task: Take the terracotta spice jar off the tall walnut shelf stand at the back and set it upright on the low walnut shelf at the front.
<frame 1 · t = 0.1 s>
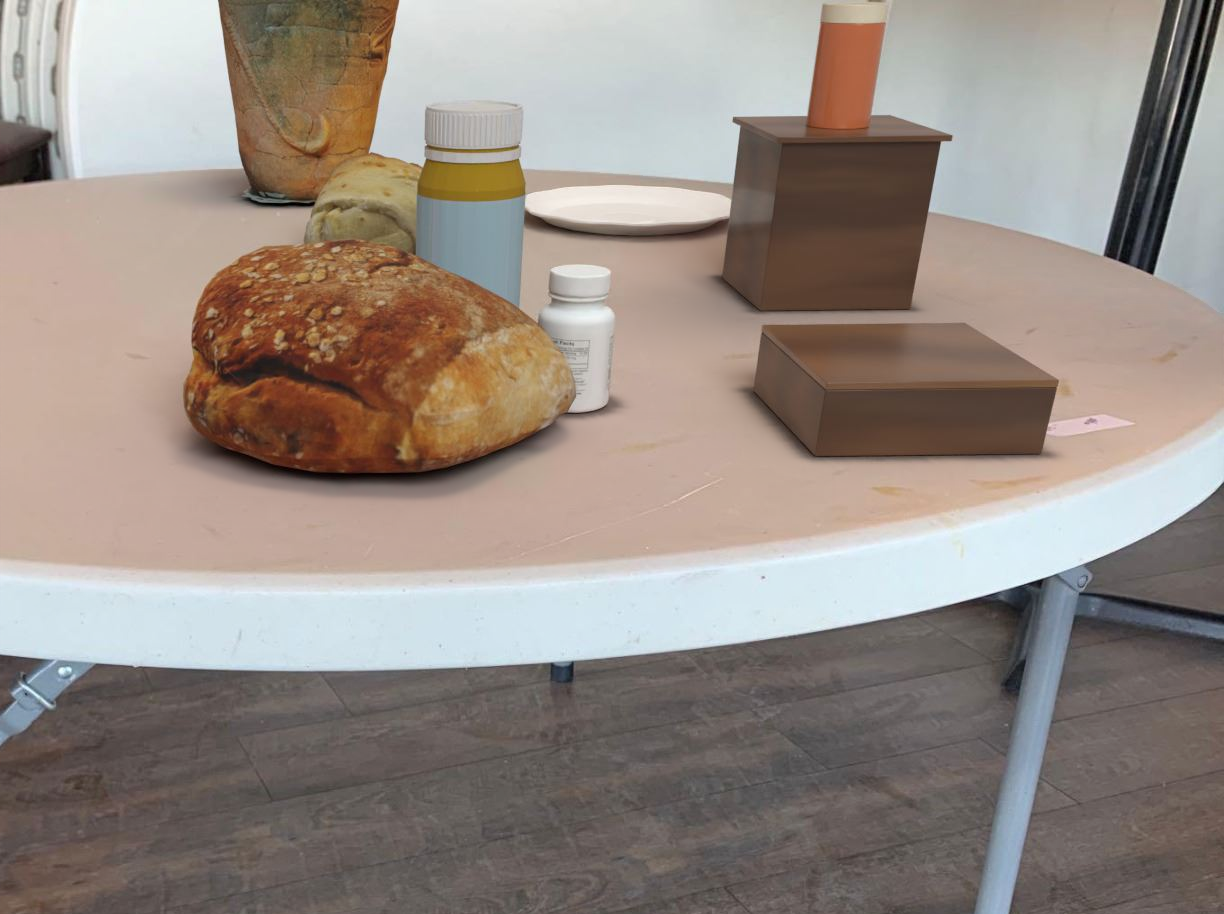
pill bottle: (570, 406, 83), on the table
low shelf: (887, 420, 79), on the table
bottle: (465, 345, 95), on the table
pastry: (372, 255, 122), on the table
high shelf: (811, 292, 107), on the table
vase: (318, 198, 149), on the table
plate: (627, 222, 134), on the table
spice jar: (837, 125, 102), point 12 cm above the table, touching high shelf
bread: (384, 436, 78), on the table
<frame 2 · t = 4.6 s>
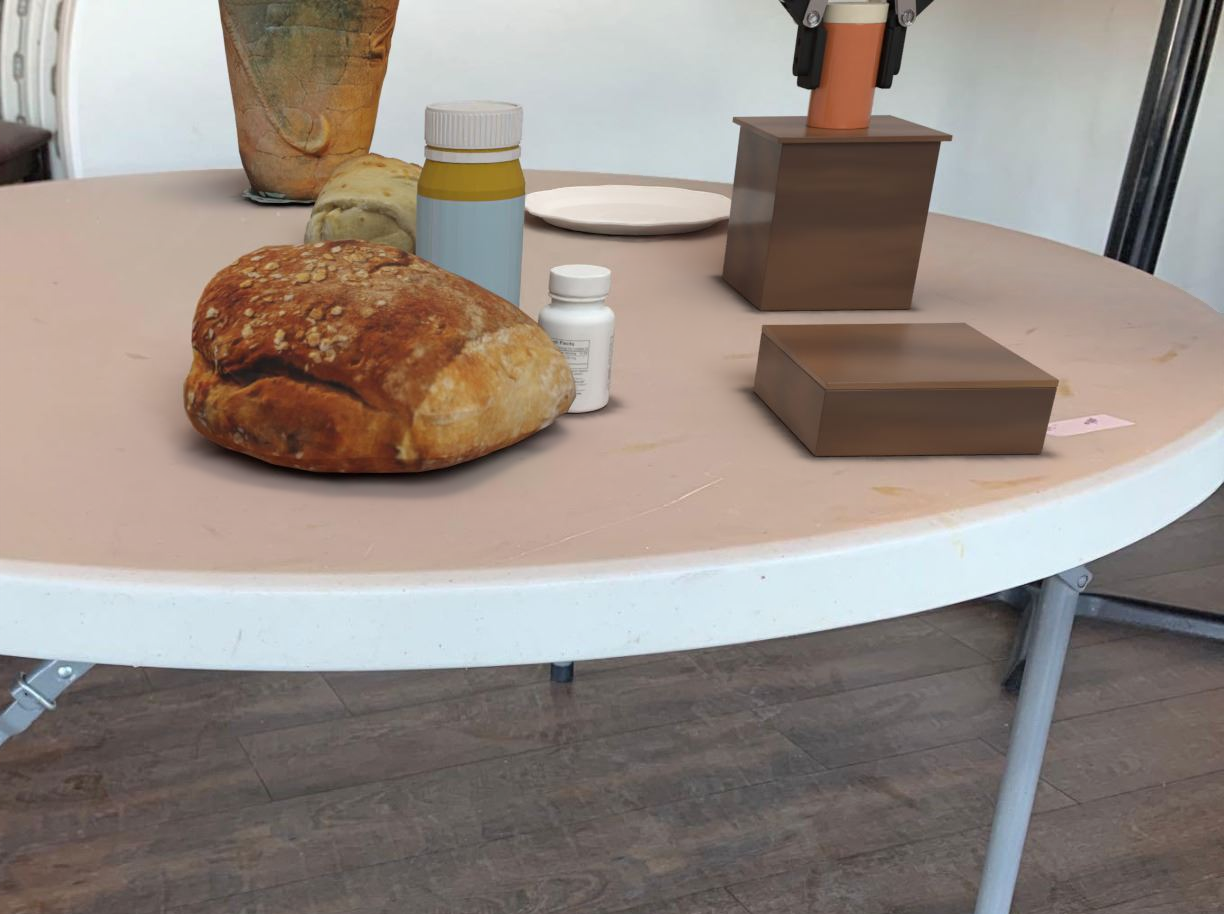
hand: (843, 84, 100), 15 cm above the table, tool pointing down, fingers closed on spice jar, 4 cm apart
spice jar: (837, 125, 102), point 12 cm above the table, touching gripper, high shelf
everything else where it was.
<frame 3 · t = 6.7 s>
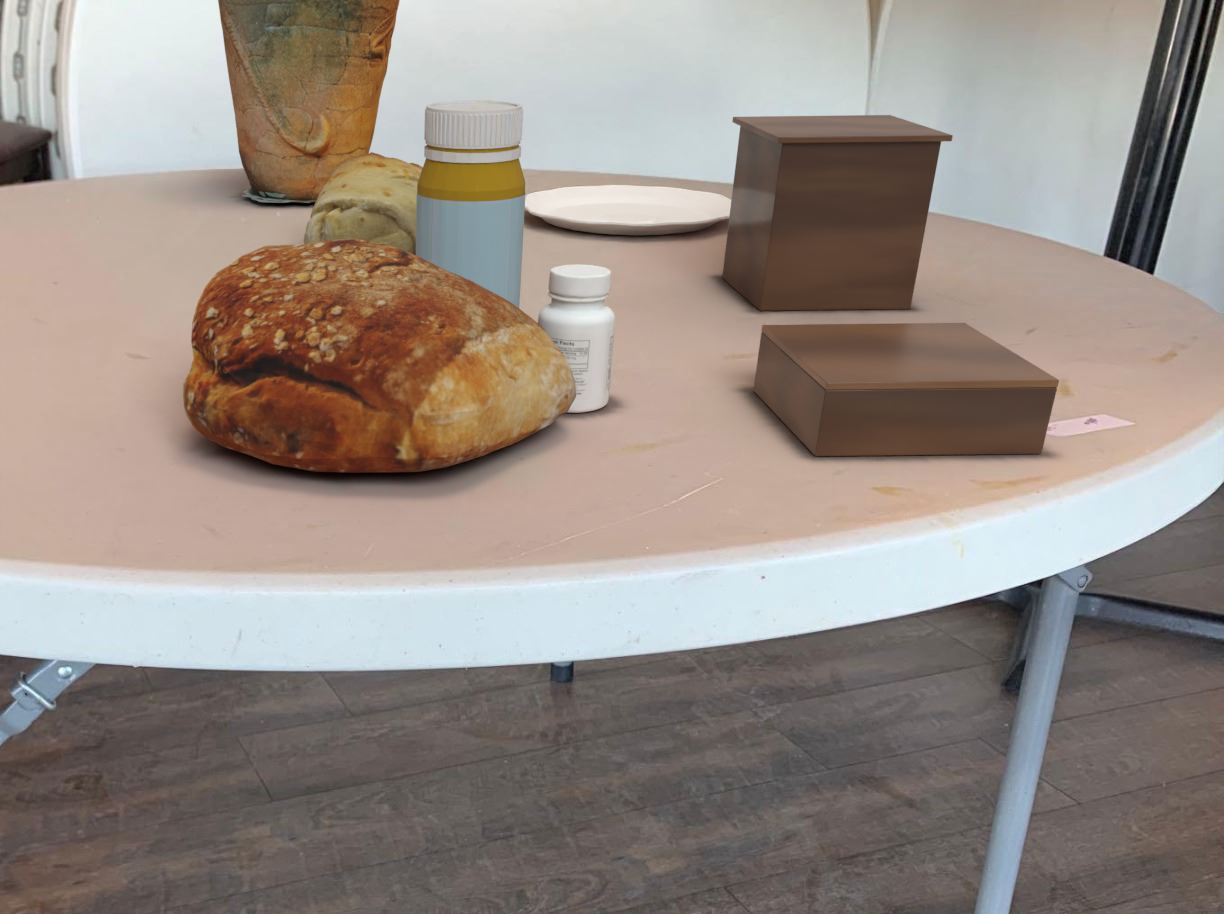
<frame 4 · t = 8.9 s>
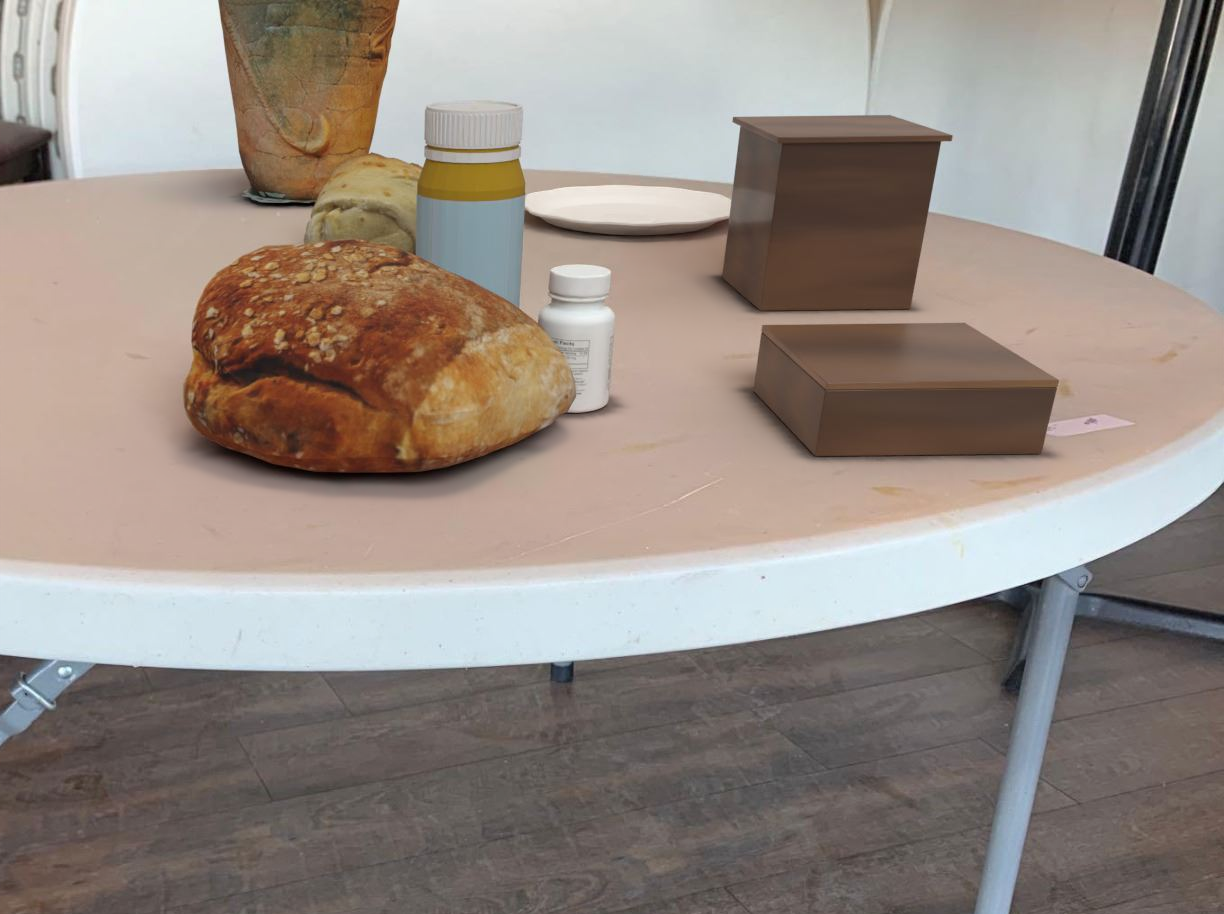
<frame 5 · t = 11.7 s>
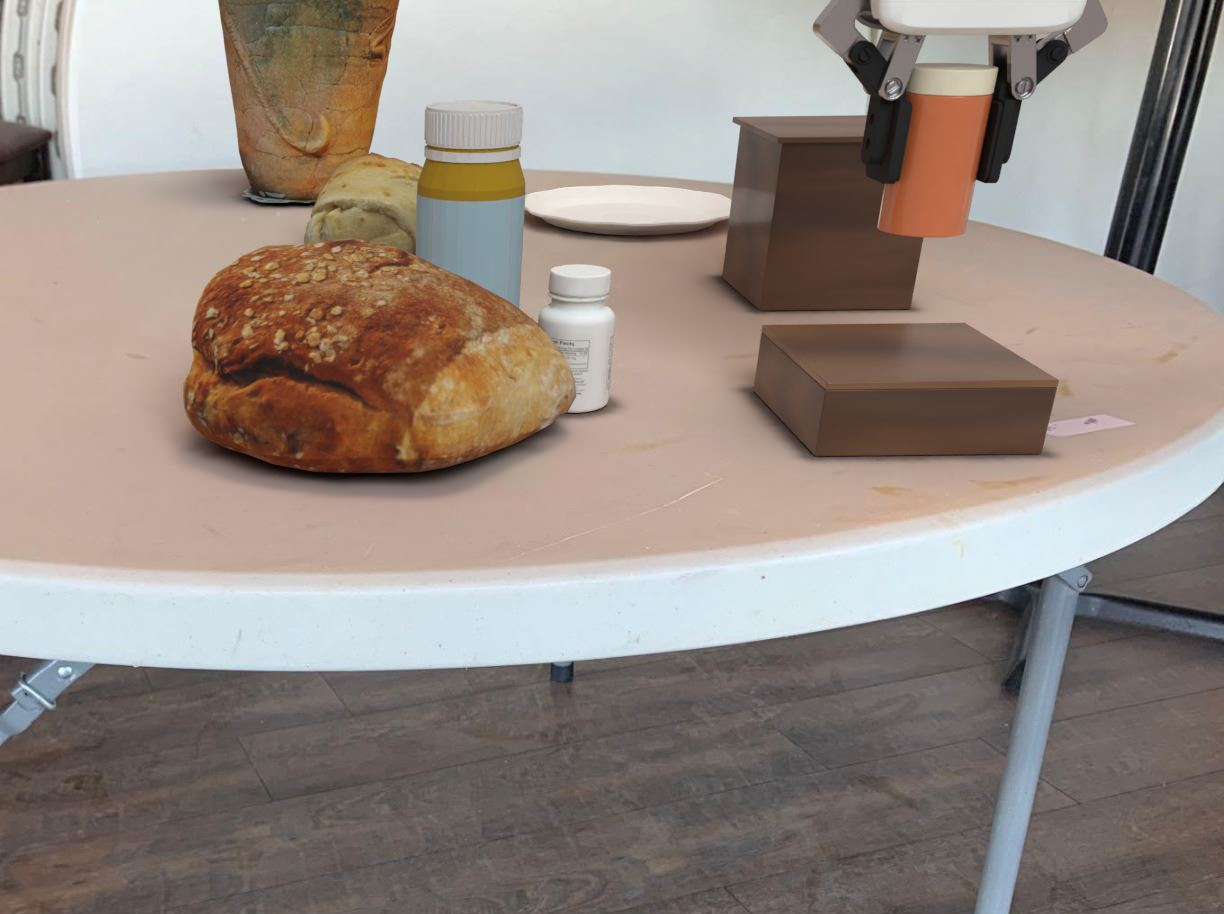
hand: (930, 175, 73), 13 cm above the table, tool pointing down, fingers closed on spice jar, 4 cm apart
spice jar: (920, 229, 74), point 10 cm above the table, touching gripper
everything else where it was.
when the fingers open (7 cm above the table, at t = 13.6 s): spice jar stays where it is, resting on low shelf.
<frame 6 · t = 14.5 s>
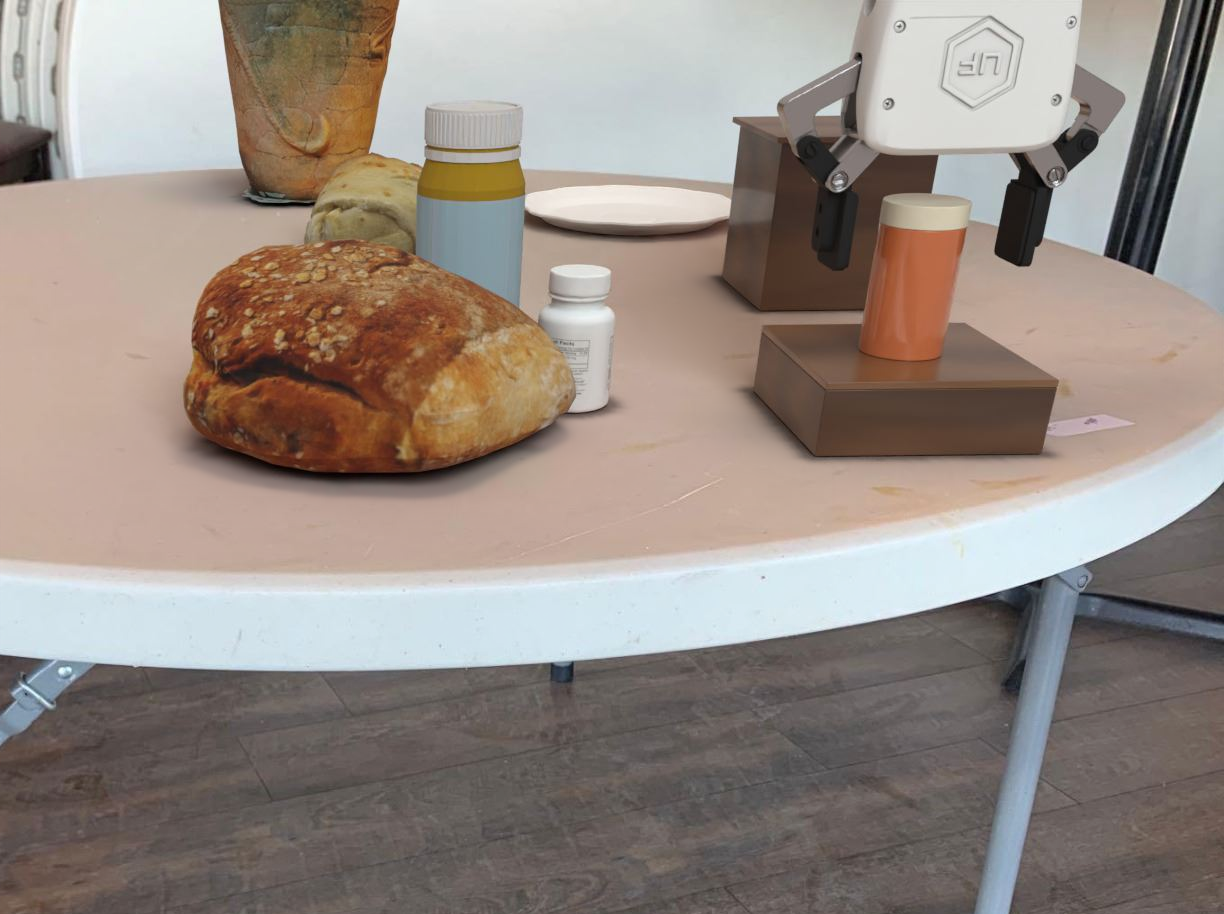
hand: (921, 263, 75), 9 cm above the table, tool pointing down, fingers open, 9 cm apart
spice jar: (899, 350, 78), point 4 cm above the table, touching low shelf
everything else where it was.
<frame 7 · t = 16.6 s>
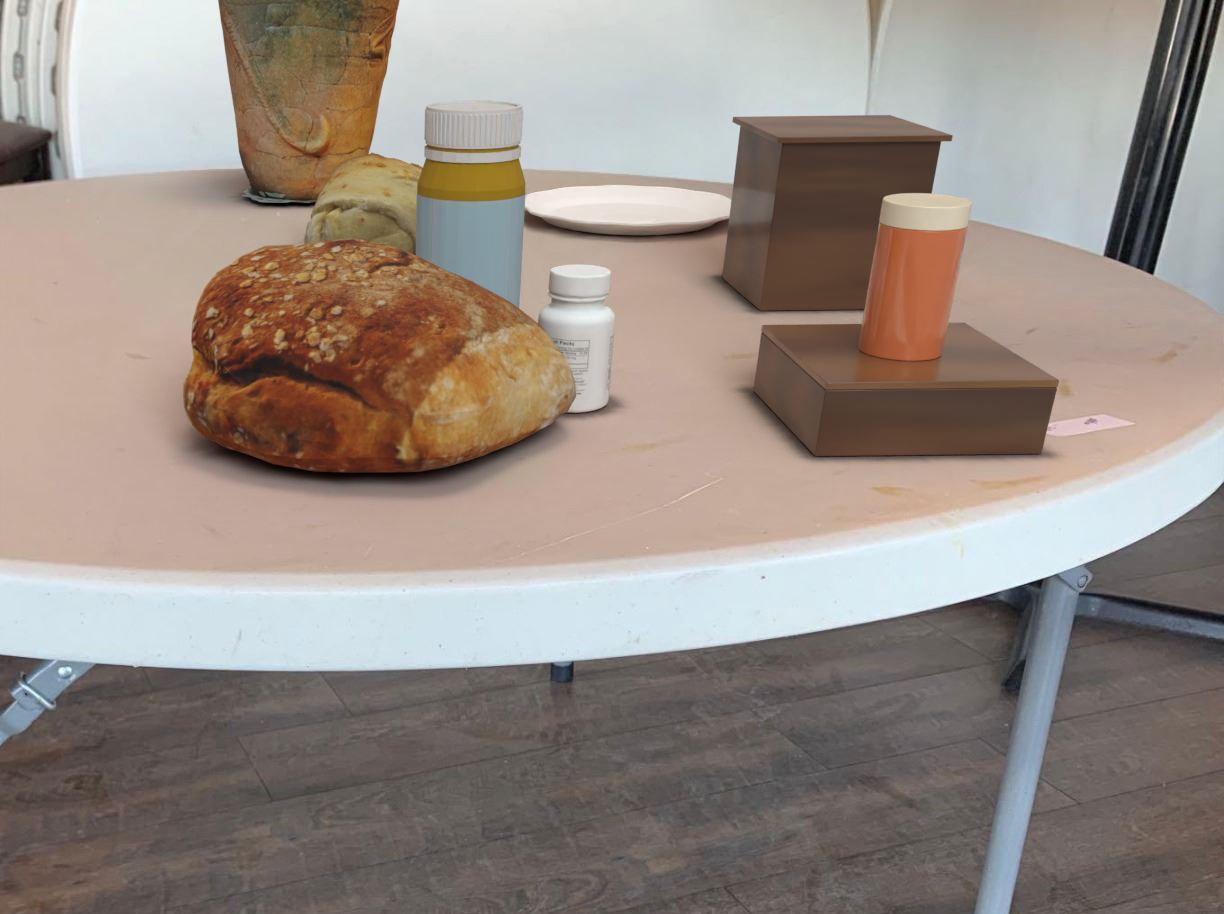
nothing on the table moved.
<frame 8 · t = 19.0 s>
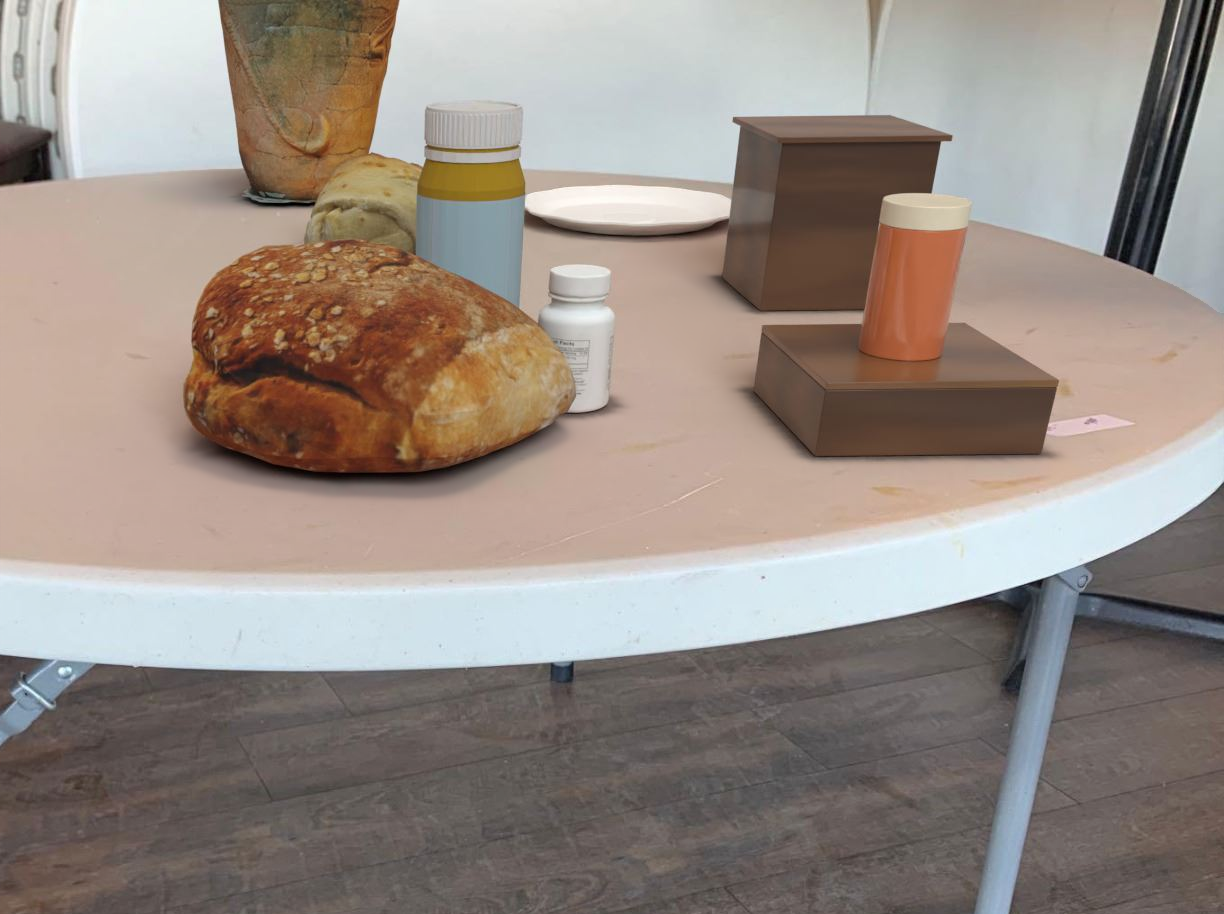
nothing on the table moved.
at the end: spice jar inside the target area on the low shelf (0.0 cm from its centre), point 4.0 cm above the low shelf's base; spice jar tilted 0°; the gripper is holding nothing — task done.
